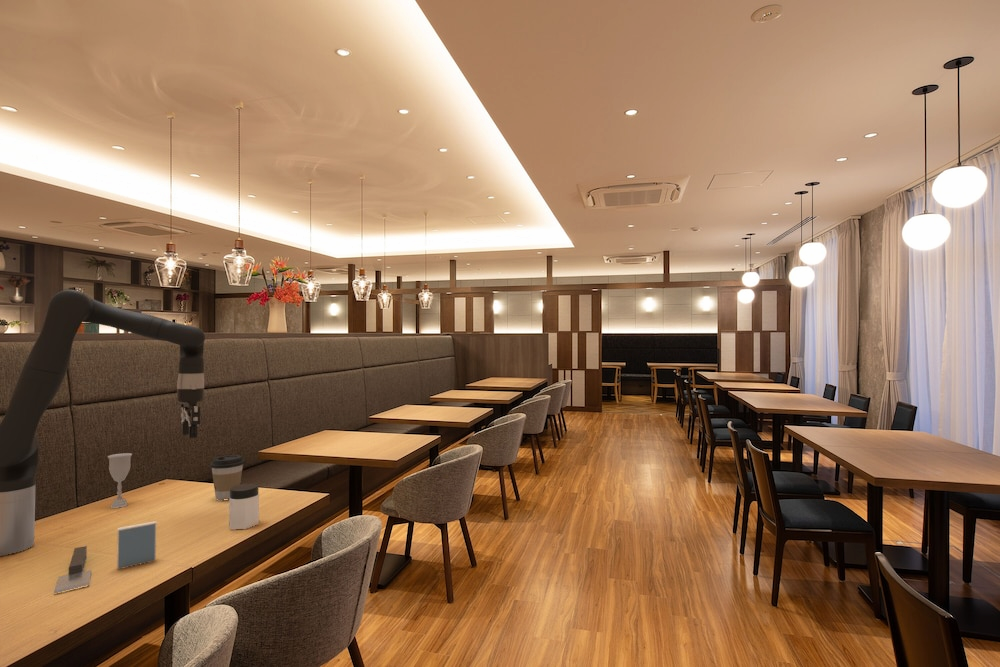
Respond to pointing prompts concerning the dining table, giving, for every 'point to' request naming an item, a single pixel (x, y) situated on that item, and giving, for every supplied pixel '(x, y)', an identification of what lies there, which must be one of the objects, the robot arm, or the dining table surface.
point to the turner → (75, 572)
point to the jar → (243, 506)
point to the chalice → (119, 474)
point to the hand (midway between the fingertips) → (189, 436)
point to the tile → (136, 544)
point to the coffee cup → (226, 474)
